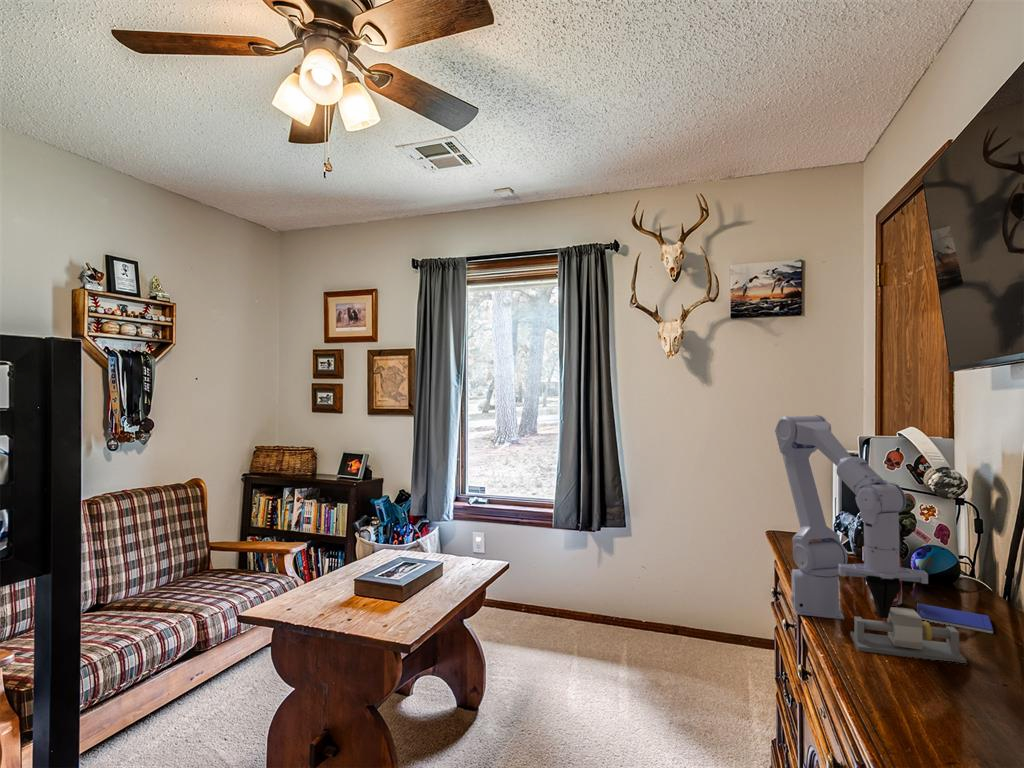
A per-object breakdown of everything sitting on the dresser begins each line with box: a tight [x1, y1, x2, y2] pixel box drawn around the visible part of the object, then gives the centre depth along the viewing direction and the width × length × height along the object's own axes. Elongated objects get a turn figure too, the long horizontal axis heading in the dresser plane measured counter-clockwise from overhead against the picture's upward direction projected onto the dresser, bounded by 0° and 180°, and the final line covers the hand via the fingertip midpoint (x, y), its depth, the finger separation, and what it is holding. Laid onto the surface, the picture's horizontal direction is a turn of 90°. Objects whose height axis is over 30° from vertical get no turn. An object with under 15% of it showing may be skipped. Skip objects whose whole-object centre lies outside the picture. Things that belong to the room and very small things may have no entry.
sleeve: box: [886, 606, 924, 649], centre depth 107 cm, size 4×5×6 cm
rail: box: [849, 616, 968, 665], centre depth 107 cm, size 17×7×6 cm, turn 70°
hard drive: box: [916, 603, 994, 634], centre depth 120 cm, size 2×8×12 cm
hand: (882, 615), depth 108 cm, fingers closed
